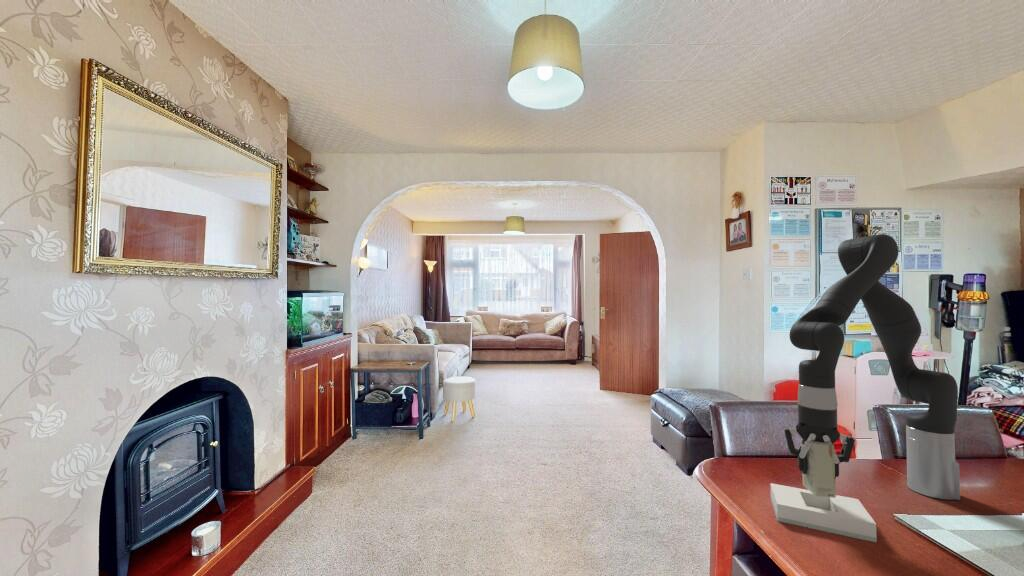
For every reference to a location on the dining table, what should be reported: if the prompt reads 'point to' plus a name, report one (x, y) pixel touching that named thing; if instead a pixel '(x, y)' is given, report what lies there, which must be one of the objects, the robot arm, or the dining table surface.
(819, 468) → the skincare box
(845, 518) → the white slotted base
